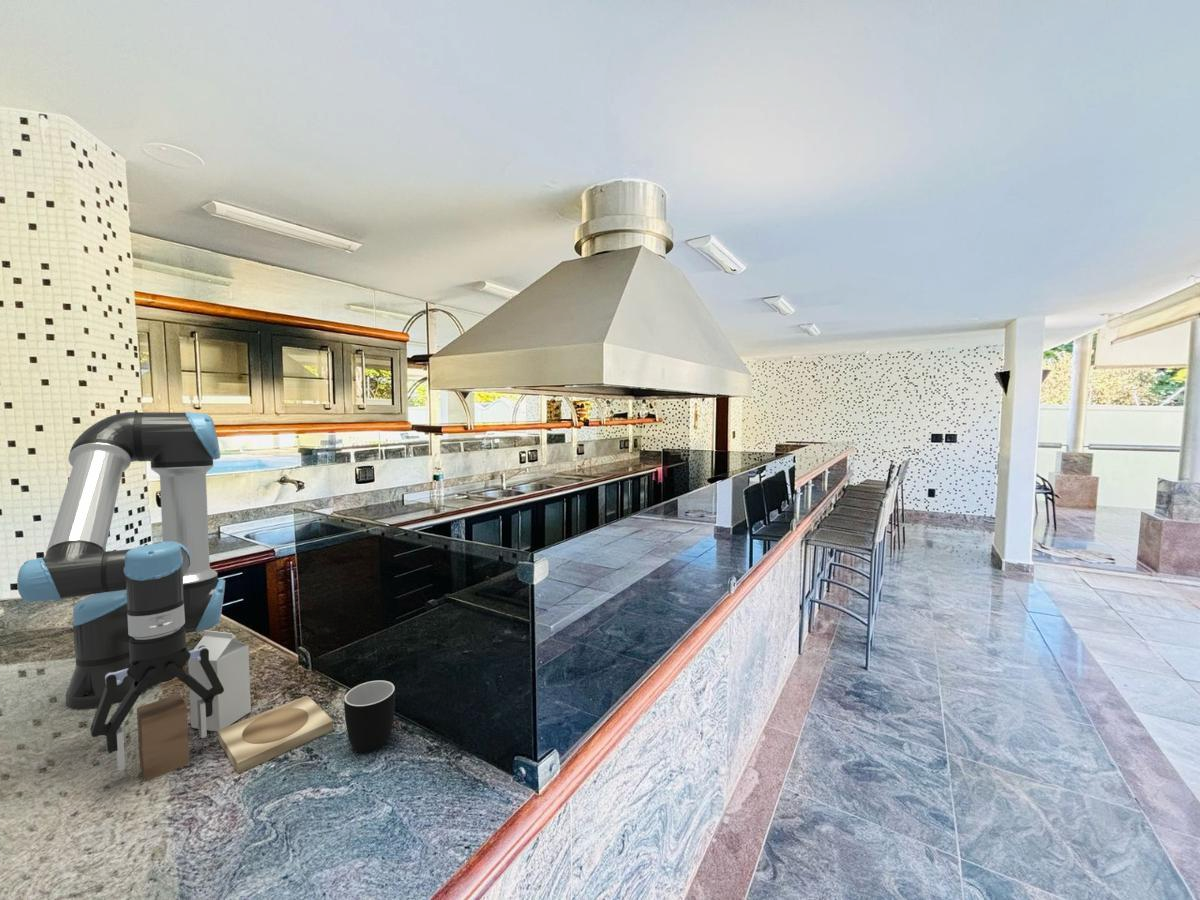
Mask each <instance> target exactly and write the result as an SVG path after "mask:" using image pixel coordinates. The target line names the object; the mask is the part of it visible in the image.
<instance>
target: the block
mask: <svg viewBox="0 0 1200 900" xmlns="http://www.w3.org/2000/svg"><path fill="white" fill-rule="evenodd" d="M136 720H137V721H136V723H137V725H136V726H137V740H138V741H137V742H138V761H139V769H140V771H141V774H142V778H143V781H144V783H146V782H148V781H150V780H154V779H155V778H158V777H160V776H164V775H166V774H167V773H170V772H172V771H173V772H174V771H175V770H177V769H180V768H183V767H184V766H185V767H186V766H187V765H190V749H189V748H190V746H189V745H190V744H189V743H190V742H189V726H188V706H187V703H186V702H185V700H184V698H183V697H182V694H181V693H178V694H174V695H172V696H168V697H166V698H163V699H160V700H156V701H153V702H150V703H147V704H144V705H141V706H138V707H136Z"/></svg>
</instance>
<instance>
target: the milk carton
mask: <svg viewBox="0 0 1200 900" xmlns="http://www.w3.org/2000/svg"><path fill="white" fill-rule="evenodd" d="M235 638H236V635H235V634H233V633H232V632H224V631H215V630H208V629H204V630H203V636H202V638H201V639H200V640H199V641H198V643H197V645H196V646H195V647H194V649H193V650H195V649H198V648H199V647H200V646H203V645H204V646H205V647H206V648H207V649H208V650H209V662H210V663H211V665H212V667H213V669H214V671H215V673H216V675H217V677H218V679H219V681H220V682H221V684H222V686H223V688H224V692H223V693H221V694H218V695H216V696H215V697H214V699H213V701H212V708H213V713H212V716H209V717H206V729H207V731H210V732H215V733H216V732H217V733H218V731H217V730H220V729H222V728H225V727H228V726H230V725H233V724H235V722H236V721H239V720H240V719H242V718H243V717H244V716H246V715H248V714H249V713H251V711H252V706H251V705H252V704H251V701H252V700H251V681H250V679H251V678H250V677H251V676H250V657H249V656H250V650H249V644H248V643H245V642H242V641H241V640H238V639H235ZM187 663H188V664H187V666H188V673H189V674H190V675H191V676H192V677H193V678H194V679H196V680H197V681H198V682H199V683H200V684H201V685H203V686H204V687H205V688H206V689H207V690H209V689H211V688H212V685H211V683H210V681H209V679H208V678H207V676H206V674H205V672H204V670H203V668H202V666H201V664H200V663H199V661H195V660H194V658H192V657H191V658H189V660H188V661H187ZM198 699H201V697H200V696H199V695H198V694H196V693H195V692H194V691H193V690H192V689H190V688H189V705H190V707H189V708H190V724H191V725H190V726H191V728H193V729H198V711H197V700H198Z"/></svg>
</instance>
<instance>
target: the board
mask: <svg viewBox="0 0 1200 900" xmlns="http://www.w3.org/2000/svg"><path fill="white" fill-rule="evenodd" d="M334 726H335V725H334V719H332V717H330V716H329V714H327V713H326V712H325V711H324V710H323V709H322V708H321V707H320V706H319V705H318V704H317V703H316V702H315V701H314V700H313V699H312V698H311V697H310V696H309V695H305V696H302V697H300V698H297V699H294V700H292V701H289V702H286V703H284V704H281V705H278V706H276V707H274V708H271V709H269V710H266V711H263V712H261V713H258V714H256V715H254V716H253V715H252V716H251V717H248V718H245V719H243V720H240V721H239V722H236V723H235V722H234V723H232V724H231V725H229V726H228V727H225V728H222V729H220V730H217V731H218V732H217V741H218V743H219V745H220V746H221V748H222V750H223V751H224V753H225V754H226V756H227V758H228V760H229V761H230V763H231V765H232V766H233V768H234V770H235V771H236V773H237V774H238V775H239V774H240V773H243V772H246V771H248V770H249V769H252V768H254V767H257V766H258V765H261V764H263V763H265V762H267V761H269V760H271V759H274V758H276V757H278V756H281V755H282V754H283V755H284V754H285V753H288V752H290V751H291V750H293V749H296V748H297V747H300V746H302V745H305V744H306V743H309V742H310V741H312V740H315V739H317V738H319V737H322V736H323V735H326V734H328V733H330V732H333V731H334V728H335V727H334Z"/></svg>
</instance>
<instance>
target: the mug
mask: <svg viewBox="0 0 1200 900" xmlns="http://www.w3.org/2000/svg"><path fill="white" fill-rule="evenodd" d="M395 704H396V688H395V685H394V683H392V682H391V681H387V680H371V681H366V682H364V683H361V684H358V685H356V686H354V687H352V688H351V689H349V690H348V692H347V693H346V694H345V696H344V697H343V706H344V718H345V725H346V731H347V737H348V741H349V743H350V746H351V747H352V748H353V750H354V751H355V752H356V753H362V754H367V753H371V752H375V751H377V750H379V749H381V748H383V747H384V746H385V745H386V744H387V743H388V741H389V739H390V738H391V735H392V731H393V730H392V729H393V725H394V717H395V707H396V705H395Z"/></svg>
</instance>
